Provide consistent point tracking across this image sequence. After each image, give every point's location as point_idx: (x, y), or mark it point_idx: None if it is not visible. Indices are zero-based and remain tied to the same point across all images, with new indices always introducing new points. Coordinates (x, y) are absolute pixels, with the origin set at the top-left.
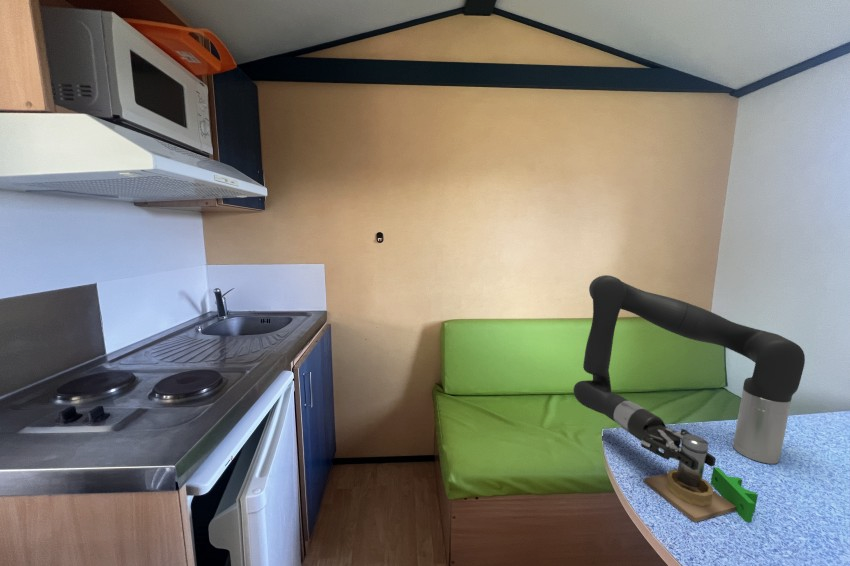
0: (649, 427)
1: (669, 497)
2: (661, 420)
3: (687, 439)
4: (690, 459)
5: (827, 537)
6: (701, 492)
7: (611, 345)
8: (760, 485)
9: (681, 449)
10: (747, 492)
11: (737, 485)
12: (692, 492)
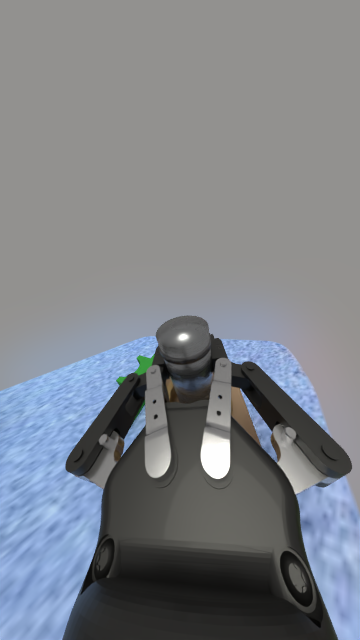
0: (251, 586)
1: (242, 401)
2: (107, 586)
3: (201, 329)
4: (215, 341)
5: (128, 346)
6: (177, 400)
7: None
8: (76, 404)
9: (207, 364)
10: (145, 359)
11: (140, 369)
12: (213, 375)
